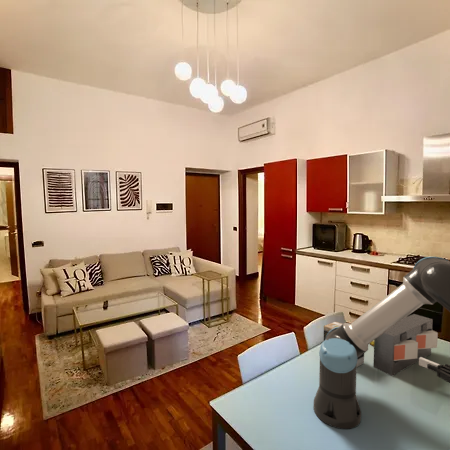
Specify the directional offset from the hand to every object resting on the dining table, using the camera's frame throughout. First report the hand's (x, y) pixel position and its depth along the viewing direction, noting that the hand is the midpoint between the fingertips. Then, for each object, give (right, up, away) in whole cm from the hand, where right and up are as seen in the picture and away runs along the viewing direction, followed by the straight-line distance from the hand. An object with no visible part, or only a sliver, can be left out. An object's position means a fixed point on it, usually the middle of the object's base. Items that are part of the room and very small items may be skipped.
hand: (419, 360), depth 113 cm
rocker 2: (+14, -3, +19) cm, 24 cm away
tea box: (-23, -8, +19) cm, 31 cm away
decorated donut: (+2, -8, +34) cm, 34 cm away
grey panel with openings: (+5, -8, +18) cm, 20 cm away
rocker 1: (-1, -3, +9) cm, 10 cm away
